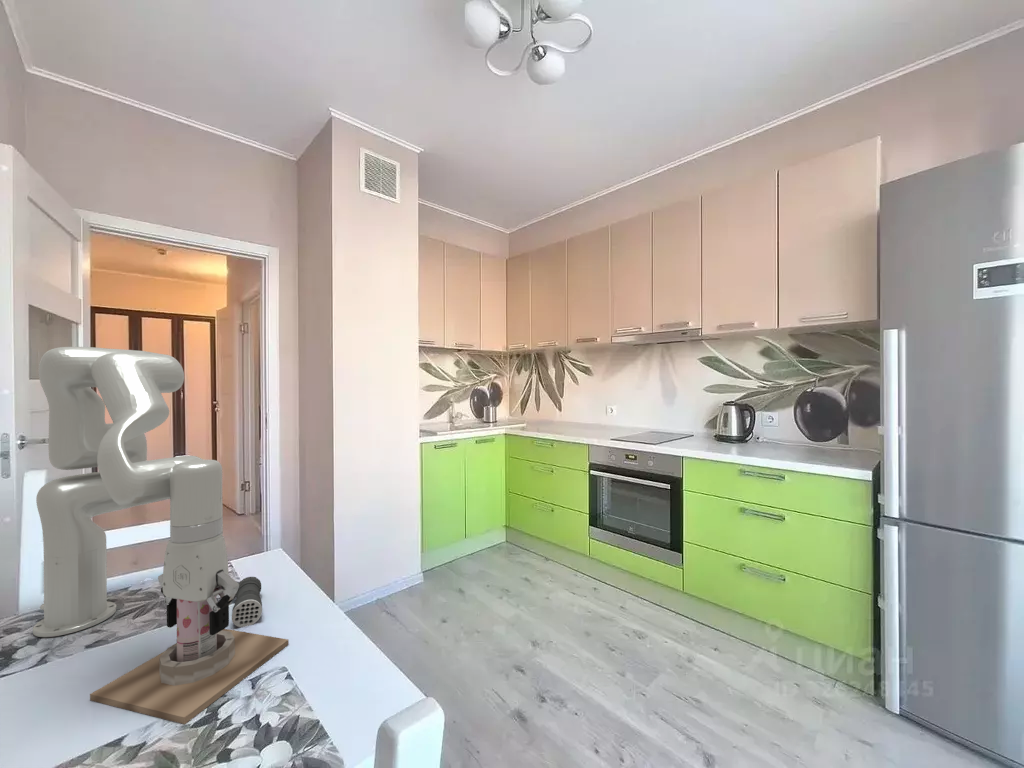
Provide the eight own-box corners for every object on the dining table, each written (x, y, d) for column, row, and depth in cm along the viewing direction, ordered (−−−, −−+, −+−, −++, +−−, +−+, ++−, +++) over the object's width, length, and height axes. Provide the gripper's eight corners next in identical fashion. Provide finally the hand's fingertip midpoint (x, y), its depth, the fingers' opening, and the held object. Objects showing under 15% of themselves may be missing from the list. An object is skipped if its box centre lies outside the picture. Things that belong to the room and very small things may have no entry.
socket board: (90, 700, 68) (89, 675, 68) (208, 630, 87) (208, 611, 87) (184, 724, 63) (184, 697, 63) (288, 644, 82) (288, 624, 82)
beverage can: (209, 650, 79) (208, 569, 79) (222, 661, 76) (221, 577, 76) (172, 666, 74) (171, 581, 75) (183, 679, 71) (183, 589, 71)
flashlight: (235, 599, 101) (235, 577, 101) (261, 593, 103) (261, 571, 104) (231, 630, 87) (231, 604, 88) (262, 623, 90) (261, 597, 90)
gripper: (138, 533, 74) (138, 632, 74) (215, 542, 69) (216, 646, 69) (181, 520, 81) (182, 610, 81) (254, 527, 77) (255, 622, 76)
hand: (197, 626), depth 75 cm, fingers open, 9 cm apart
